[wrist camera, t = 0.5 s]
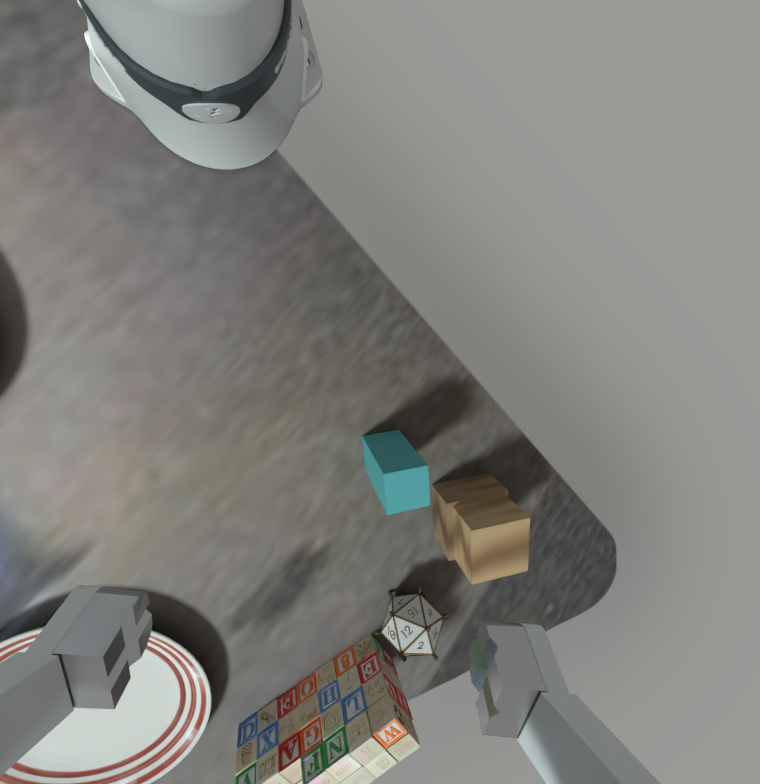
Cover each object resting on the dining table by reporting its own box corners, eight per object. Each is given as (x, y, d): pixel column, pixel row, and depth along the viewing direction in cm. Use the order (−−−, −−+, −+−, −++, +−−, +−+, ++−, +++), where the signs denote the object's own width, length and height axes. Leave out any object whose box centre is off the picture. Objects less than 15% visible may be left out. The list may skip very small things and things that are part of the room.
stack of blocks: (264, 746, 59) (263, 862, 47) (237, 723, 57) (229, 838, 45) (393, 657, 60) (422, 748, 49) (371, 631, 58) (396, 720, 47)
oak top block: (452, 506, 50) (471, 530, 45) (506, 495, 51) (530, 517, 47) (453, 556, 52) (471, 584, 47) (505, 544, 53) (527, 570, 49)
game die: (407, 585, 62) (455, 648, 57) (360, 622, 58) (406, 693, 53) (417, 559, 56) (471, 627, 50) (364, 598, 52) (418, 677, 46)
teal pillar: (362, 436, 50) (383, 474, 40) (398, 429, 51) (427, 465, 41) (365, 470, 51) (387, 515, 42) (401, 463, 52) (430, 505, 43)
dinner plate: (260, 673, 56) (259, 697, 52) (103, 812, 55) (93, 844, 52) (77, 556, 46) (63, 577, 42) (-115, 726, 45) (-143, 759, 42)
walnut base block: (431, 483, 54) (446, 503, 49) (488, 472, 56) (508, 490, 51) (434, 537, 56) (448, 561, 52) (488, 524, 58) (507, 546, 53)
